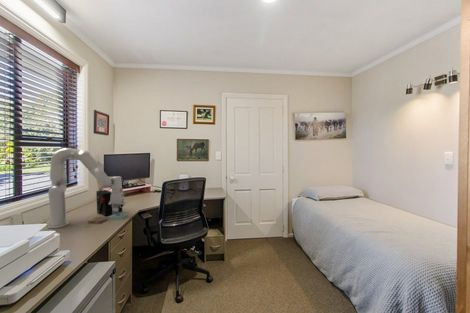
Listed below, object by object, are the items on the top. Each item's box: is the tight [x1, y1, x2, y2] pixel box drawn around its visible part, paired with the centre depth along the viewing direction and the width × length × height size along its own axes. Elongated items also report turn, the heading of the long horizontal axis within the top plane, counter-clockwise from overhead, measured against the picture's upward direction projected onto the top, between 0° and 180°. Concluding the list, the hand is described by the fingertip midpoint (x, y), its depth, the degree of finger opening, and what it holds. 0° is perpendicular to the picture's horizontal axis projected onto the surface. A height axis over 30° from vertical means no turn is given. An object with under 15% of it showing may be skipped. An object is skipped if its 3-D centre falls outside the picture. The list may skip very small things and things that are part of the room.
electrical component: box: [96, 189, 113, 217], centre depth 206 cm, size 18×10×20 cm, turn 47°
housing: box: [112, 204, 122, 214], centre depth 197 cm, size 7×5×7 cm
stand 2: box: [107, 212, 127, 220], centre depth 197 cm, size 10×10×2 cm
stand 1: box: [87, 216, 109, 224], centre depth 187 cm, size 10×10×2 cm
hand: (117, 211), depth 197 cm, fingers closed on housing, 5 cm apart
